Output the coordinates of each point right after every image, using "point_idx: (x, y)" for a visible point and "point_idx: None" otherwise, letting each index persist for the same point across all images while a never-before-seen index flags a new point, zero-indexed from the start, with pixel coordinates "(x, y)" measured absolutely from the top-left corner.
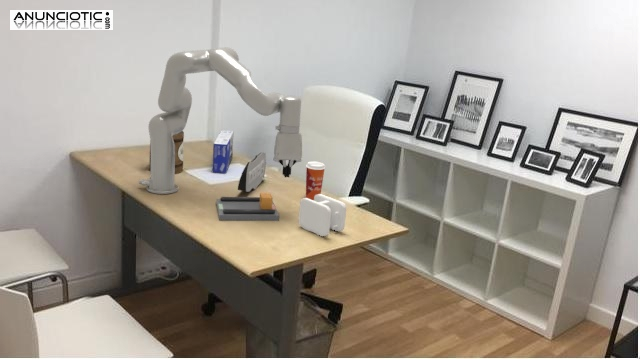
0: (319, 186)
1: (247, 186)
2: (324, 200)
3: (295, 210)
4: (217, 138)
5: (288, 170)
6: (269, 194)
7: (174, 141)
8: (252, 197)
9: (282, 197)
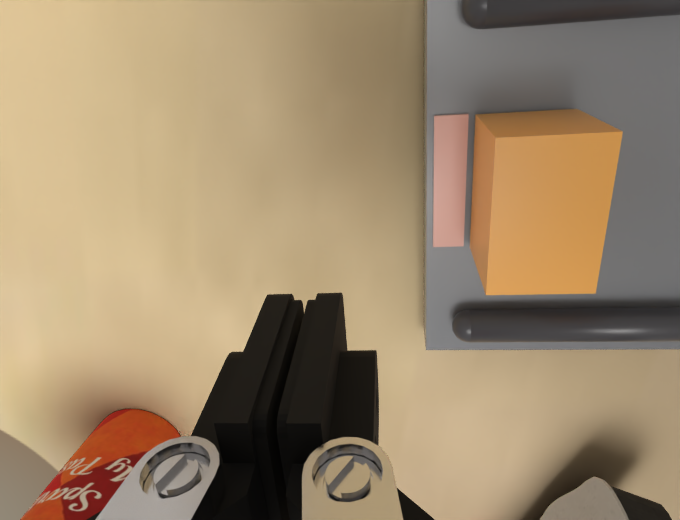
0: (52, 484)
1: (598, 517)
2: None
3: (260, 219)
4: None
5: (261, 370)
6: (503, 253)
7: None
8: (610, 330)
9: None
